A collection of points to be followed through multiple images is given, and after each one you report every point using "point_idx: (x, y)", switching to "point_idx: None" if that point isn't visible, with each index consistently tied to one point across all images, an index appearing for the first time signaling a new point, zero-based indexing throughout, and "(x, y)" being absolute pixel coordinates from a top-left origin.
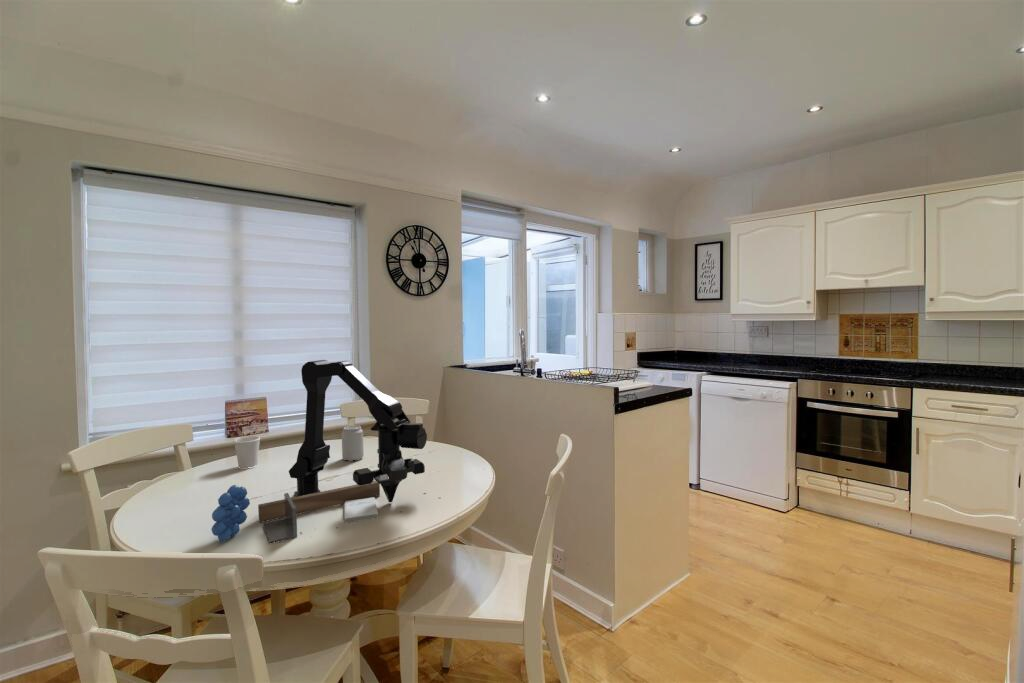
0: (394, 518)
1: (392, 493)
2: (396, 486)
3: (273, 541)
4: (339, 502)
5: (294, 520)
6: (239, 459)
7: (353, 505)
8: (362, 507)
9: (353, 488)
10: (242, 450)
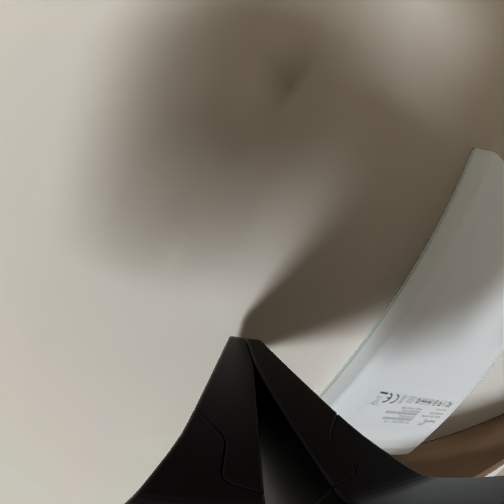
0: (413, 20)
1: (246, 392)
2: (192, 460)
3: None
4: (415, 454)
5: None
6: None
7: (447, 397)
8: (461, 344)
9: None
10: None
